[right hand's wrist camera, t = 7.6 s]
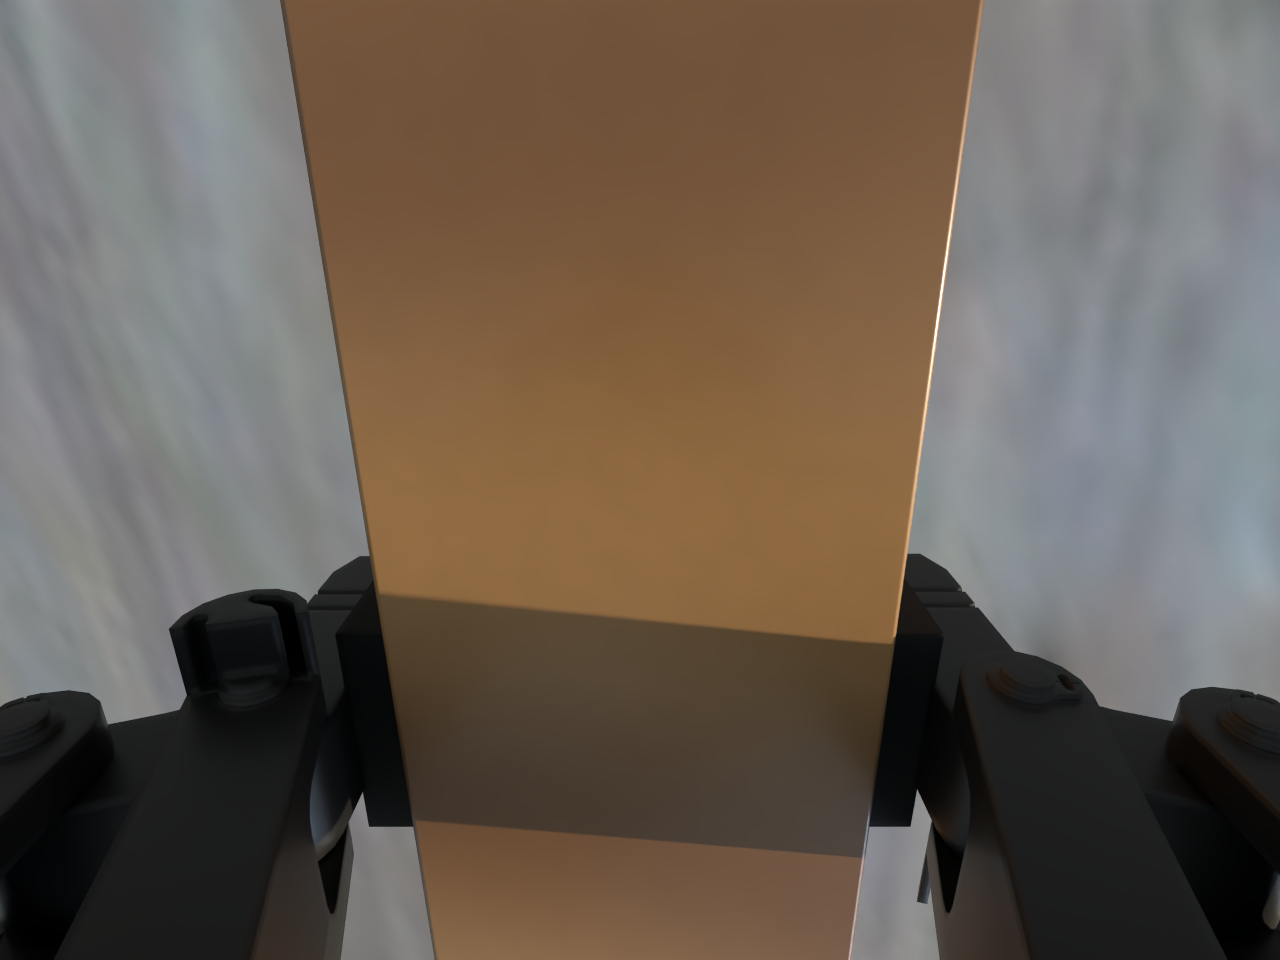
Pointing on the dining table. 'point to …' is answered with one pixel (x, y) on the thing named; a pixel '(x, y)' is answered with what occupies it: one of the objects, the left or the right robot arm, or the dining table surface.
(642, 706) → the beam
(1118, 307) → the dining table surface
